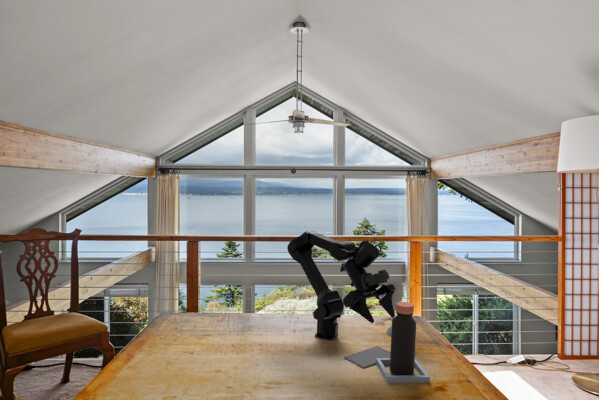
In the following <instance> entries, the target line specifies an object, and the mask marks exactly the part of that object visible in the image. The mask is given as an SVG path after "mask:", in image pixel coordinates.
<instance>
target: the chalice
mask: <svg viewBox="0 0 599 400" xmlns="http://www.w3.org/2000/svg"><path fill="white" fill-rule="evenodd" d="M389 283H391V284H393V285H394V287H395V288H396V290H395V291H394V294H393V295H392V304H393V309H394V314H395V316H394V317H396V316H397V314H396V303H398V302H403V297H404V287H405V283H402V282H401V281H400V282H399V281H388V282H387V283H385V282H384V284H389ZM394 317H393V318H394ZM393 318H392V317H391V319H390V321H391V322H392V320H393ZM391 332H392V324H391V325H389V326H388V327H387V329H386V331H385V334H386V335H388V336H389V337H391Z"/></svg>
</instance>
